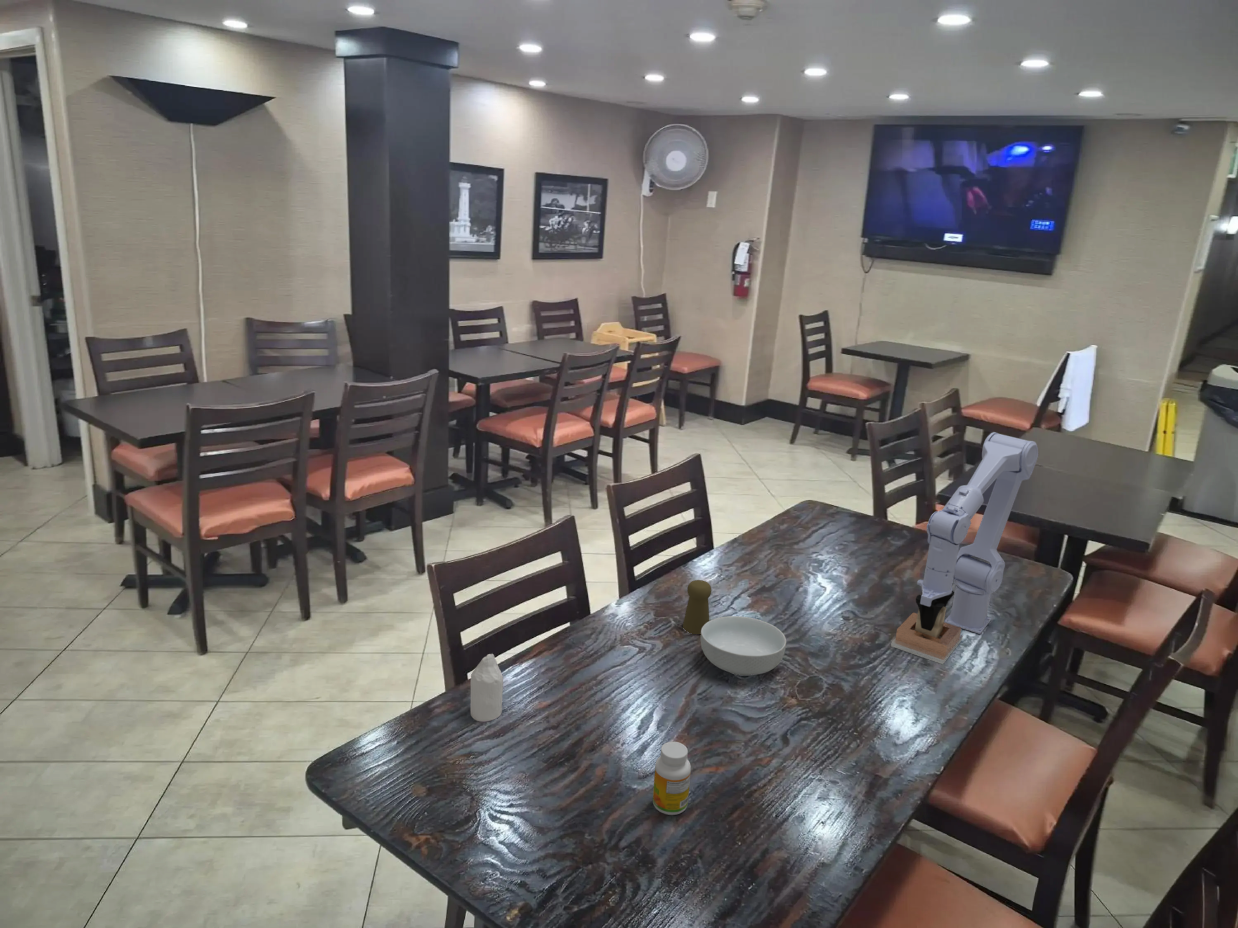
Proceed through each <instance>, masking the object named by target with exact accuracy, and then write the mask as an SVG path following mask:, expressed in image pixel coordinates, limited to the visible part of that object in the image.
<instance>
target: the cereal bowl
mask: <svg viewBox="0 0 1238 928" xmlns="http://www.w3.org/2000/svg"><path fill="white" fill-rule="evenodd" d="M699 639H700V645H701V649H702V652H703V654H704V655H705V657H706V658H707V660H708V661H709V662H710V663H711V664H712V665H714V666H715V667H717V668H718V669H720V670H722V671H726V672H727V673H729V674H732V675H735V676H741V677H742V676H743V677H749V676H755V675H762V674H765V673H768V672H770V671H771V670H773V669H775V668H777V666H778V665H779V664H780V663H781V662H782V661H783V660H782V659H784V656H785V654H786V647H787V637H786V636H785V634H784V633H783V631H781V630H780V629H779V628H778V627H776V626H775V625H773V624H771V623H769V622H767V621H764V620H760V619H757V618H753V617H750V616H749V617H748V616H739V615H738V616H737V615H729V616H721V617H716V618H713V619H711V620H709V622H707V623H706V624H705V625H704V626H703V627H702V629H701V635H700V638H699Z"/></svg>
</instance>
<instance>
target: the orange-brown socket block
mask: <svg viewBox="0 0 1238 928" xmlns="http://www.w3.org/2000/svg"><path fill="white" fill-rule="evenodd" d="M917 615H918V612H917V613H916V612H912V613H911V614H910V615H909V616H908V617H907V618H906V619H905V620H904V621H903V622H902V623H901V625H899V626H898V627H897V629H896V634H895V638H894V639H893V640H892V641H891V642H890V643H891V644H890V647H892V648H895V649H898V650H901V651H904V652H906V653H909V654H912V655H915V656H918V657H921V658H923V659H926V660H930V661H932V662H935V663H937V664H941V665H945V663H946V662H947V660H948V659H949V657H950V656H951V655H952V653H953V652H954V651H955V649H957V648H958V646H959V644H961V642H962V640H963V638H964V637H963V636H964V635H962V634H961V632H962V628H960V627H957V626H954V625H951V624H948V623H945V622H944V624H943V629H942V633H941V634H940V635H939V636H938V638H935V637H932V636H929V635H926V634H923V633H920V632H917V631H915V626H916V621H917Z"/></svg>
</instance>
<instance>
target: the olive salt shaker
mask: <svg viewBox="0 0 1238 928" xmlns="http://www.w3.org/2000/svg"><path fill="white" fill-rule="evenodd" d="M712 591H713V590H712V586H711V584H710V583H709V582H707V581H706V580H702V579H694V580H692V581H690V582H689V583H688V585H687V595H688V600H687V604H686V608H685V609H686V610H685V613H684V618H683V623H682V626H683V627H682V629H683V628H684V629H685V630H686V631H688V632H689V633H692V634H691V635H693V634H701V629H702V627H703V626H704V625H705V624H706V623H707V622H709V621H710V610H709V609H710V607H709V606H710V605H709V603H710V602H709V598H710V597H711V594H712ZM689 633H688V634H689Z"/></svg>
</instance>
